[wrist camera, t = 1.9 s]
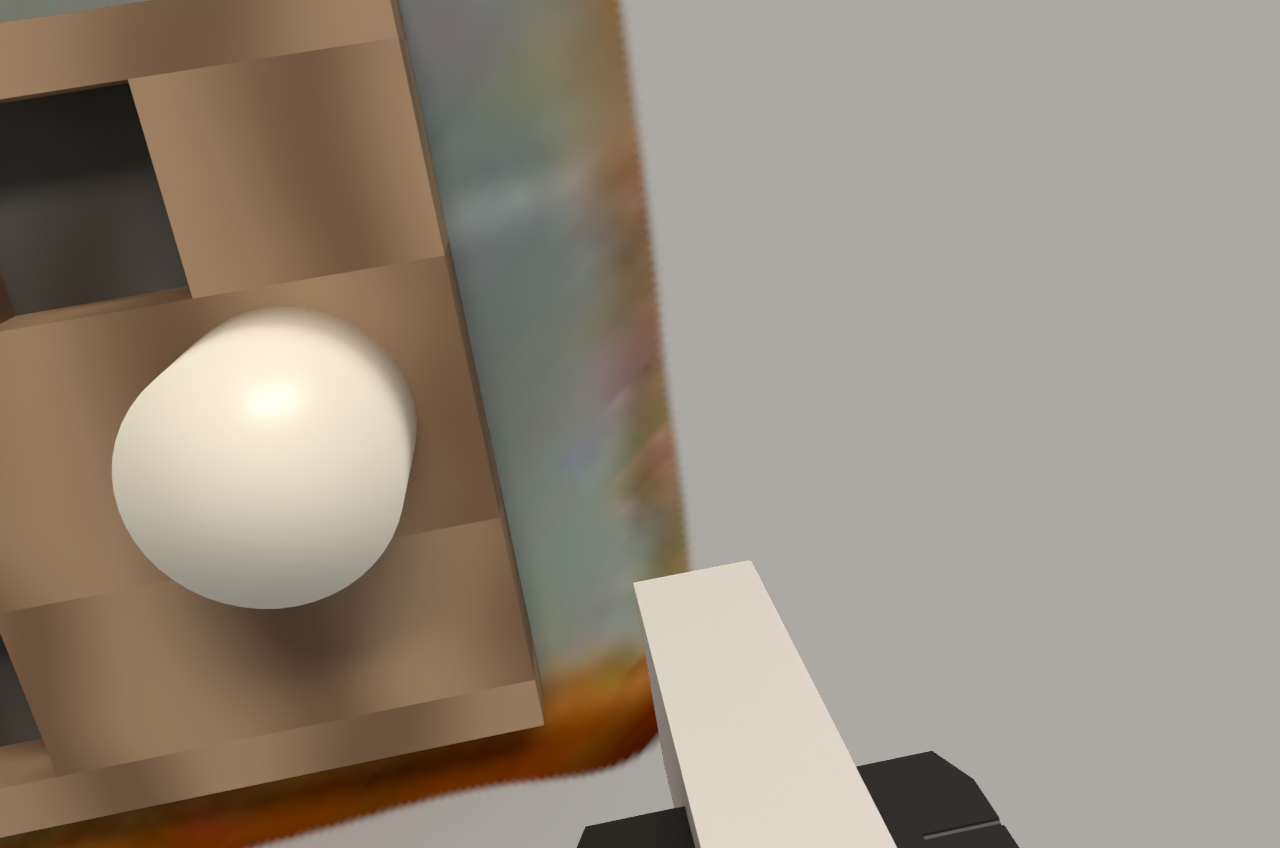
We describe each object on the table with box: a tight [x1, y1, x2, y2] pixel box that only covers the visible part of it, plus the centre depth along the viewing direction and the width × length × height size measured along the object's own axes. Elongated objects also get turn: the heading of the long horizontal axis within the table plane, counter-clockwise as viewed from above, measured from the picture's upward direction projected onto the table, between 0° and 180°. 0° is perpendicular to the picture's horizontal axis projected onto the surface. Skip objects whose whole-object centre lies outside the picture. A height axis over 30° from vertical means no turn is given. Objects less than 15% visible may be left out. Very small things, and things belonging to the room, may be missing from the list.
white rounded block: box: [112, 306, 417, 609], centre depth 24 cm, size 6×6×4 cm
